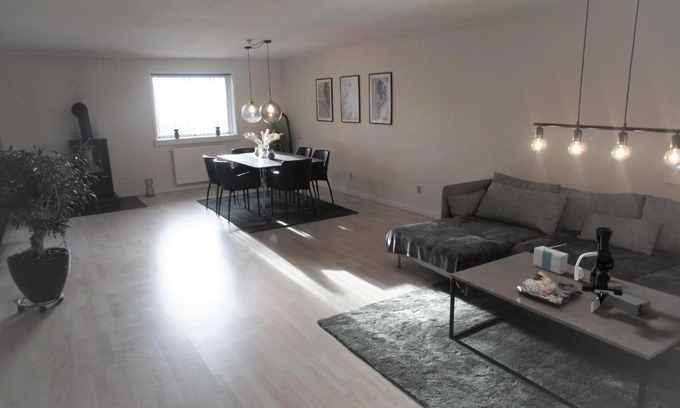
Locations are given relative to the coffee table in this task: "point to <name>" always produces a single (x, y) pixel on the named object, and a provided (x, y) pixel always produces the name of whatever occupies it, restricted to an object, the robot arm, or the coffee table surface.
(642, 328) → the coffee table surface
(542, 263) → the stereo radio cassette player
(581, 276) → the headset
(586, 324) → the coffee table surface
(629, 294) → the grey slab
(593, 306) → the side door
